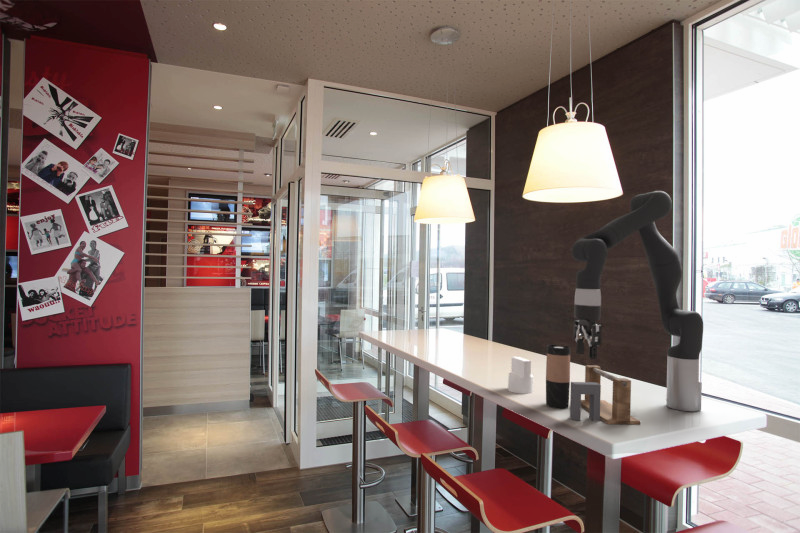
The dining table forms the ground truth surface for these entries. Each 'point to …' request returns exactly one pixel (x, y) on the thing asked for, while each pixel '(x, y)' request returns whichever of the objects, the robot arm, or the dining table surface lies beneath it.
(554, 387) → the travel mug
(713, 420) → the dining table surface
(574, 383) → the grey arch block
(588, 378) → the rail
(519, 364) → the cylinder with rectangular tab
